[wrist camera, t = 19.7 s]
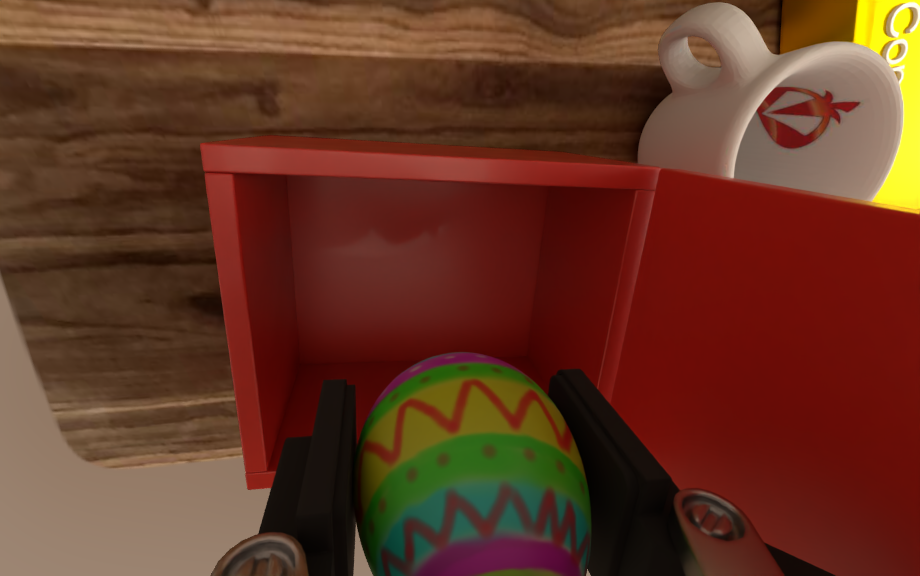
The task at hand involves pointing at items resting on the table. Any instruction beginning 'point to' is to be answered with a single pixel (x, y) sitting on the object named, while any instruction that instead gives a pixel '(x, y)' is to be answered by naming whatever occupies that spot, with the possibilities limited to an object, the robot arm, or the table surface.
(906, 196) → the element tile
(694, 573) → the robot arm
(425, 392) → the egg
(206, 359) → the table surface
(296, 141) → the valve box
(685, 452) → the box lid
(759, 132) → the cup
